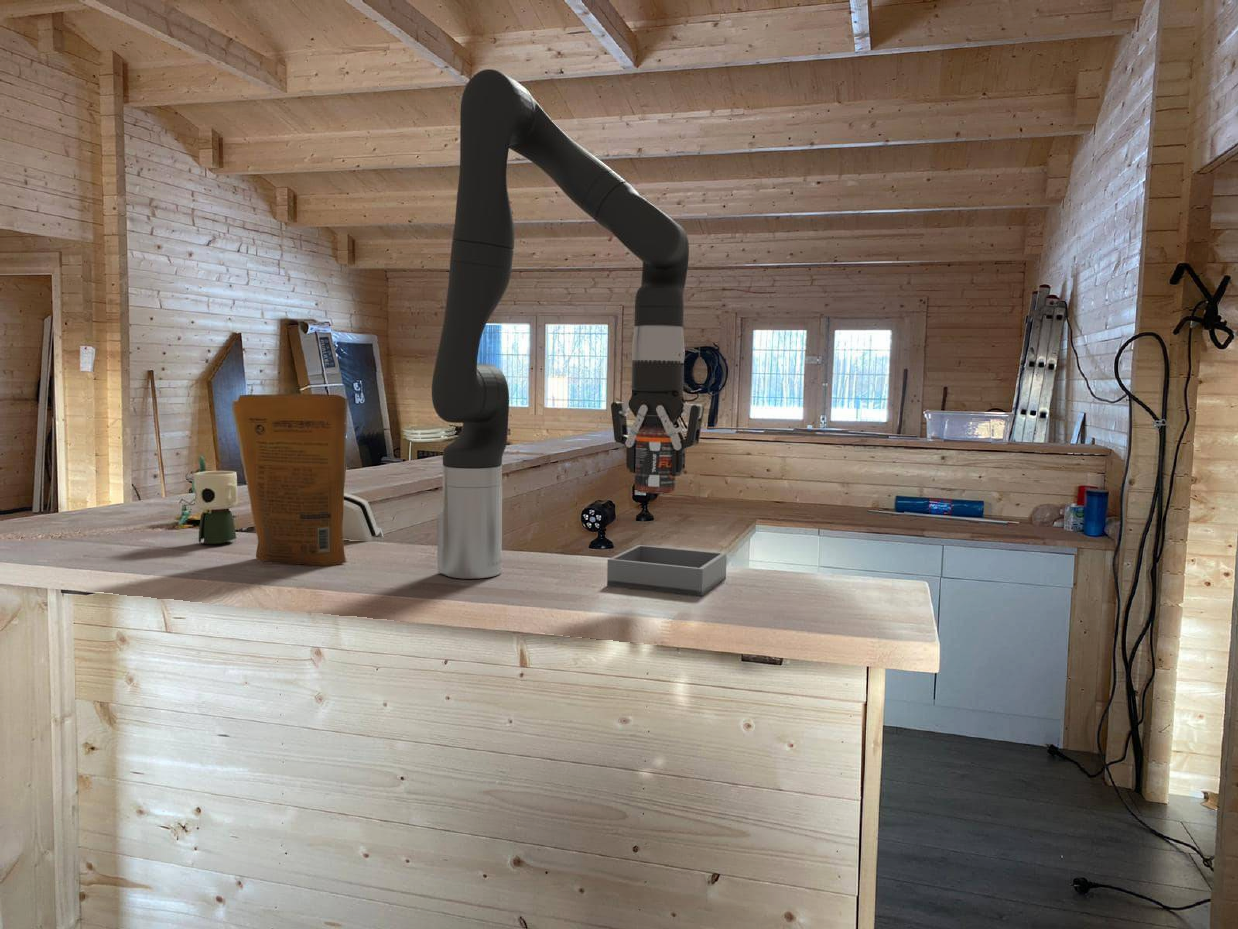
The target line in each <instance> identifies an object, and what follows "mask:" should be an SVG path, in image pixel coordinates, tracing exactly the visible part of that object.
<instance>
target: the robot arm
mask: <svg viewBox="0 0 1238 929" xmlns="http://www.w3.org/2000/svg"><path fill="white" fill-rule="evenodd" d="M459 112H460V113H459V115H460V116H459V120H460V121H459V124H460V125H459V126H460V128H459V129H460V130H459V132H460V134H459V138H460V139H459V140H460V141H459V145H460V148H459V150H460V151H459V176H458V177H459V178H458V184H457V185H458V186H457V192H456V194H457V195H456V205H455V206H456V207H455V216H454V217H455V218H454V226H453V233H452V239H451V250H450V257H449V258H450V260H449V273H448V274H449V275H448V286H447V294H446V301H445V309H444V317H443V324H442V330H441V335H440V339H439V340H440V341H439V345H438V348H437V349H438V350H437V354H436V359H435V364H434V369H433V376H432V380H431V401H432V406H433V409H434V411H435V413H436V414H437V416H438V417H439V419H441V420H442V421H444V422H446V423H451V424H462V429H461V431H460V434H459V435H458V437H457V438H456V439H455V440H454V441H452V442H451V443H449V444H448V445H446V446H445V447H444V448H443V450H442V512H439V513H438V514H437V519H436V520H437V523H436V524H437V574H442V575H444V576H447V577H450V578H456V579H470V580H471V579H472V580H473V579H485V578H490V577H491V578H492V577H495V576H498V575H500V574H501V573H502V563H503V559H502V558H503V557H502V556H503V554H502V547H503V542H502V540H503V536H502V535H503V534H502V531H503V522H502V521H503V519H502V518H503V511H502V510H503V466H502V465H503V456H504V455H503V454H504V453H505V450H506V448H507V443H508V435H509V434H508V433H509V431H508V430H509V417H510V416H509V414H510V413H509V412H510V392H509V385H508V381H507V378H506V376H505V373H504V372H503V371H502V370H501V369H500V368H499V367H497V366H496V365H493V364H490V363H482V362H481V363H479V362H478V360H479V352H480V343H481V340H482V336H483V332H484V329H485V327H486V325H487V323H488V322H489V319H490V318H491V316H492V315H493V313H494V311H496V310H495V309H496V308H497V306H498V305H499V303H500V302H501V300H502V298H503V296H504V294H505V292H506V290H507V288H508V285H509V283H510V279H511V276H512V268H513V261H514V260H513V259H514V258H513V257H514V249H515V225H514V218H513V212H512V208H511V207H512V206H511V201H510V197H509V196H510V195H509V191H508V184H507V183H508V182H507V169H508V168H507V166H508V158H509V150H512V151H513V152H515V153H516V154H518V155H521V156H522V157H523V158H525V159H527V160H529V161H530V162H532V163H533V164H534V165H535V166H537V167H538V168H539V169H541V170H542V171H543V172H544V173H545V174H546V175H547V176H549V178H551V180H553V182H554V183H555V184H556V185H557V186H558V188H560V189H561V191H563V193H564V194H565V195H566V196H567V197H568V198H569V199H570V200H571V201H572V202H573V203H574V204H575V205H576V206H578V208H579V209H581V211H584V213H586V214H587V215H588V216H590V218H591V219H593V220H594V221H595V222H597V223H598V224H599V225H600V226H602V227H603V228H604V229H606V230H608V231H609V232H611V233H612V234H613V235H614V237H616V239H617V240H618V241H620V243H621V244H622V245H623V246H625V247H626V248H627V250H628V251H630V252H631V253H632V254H633V255H634V256H635V257H637V258H638V259H639V260H640V261H641V262H642V271H641V285H640V287H639V288H638V289H637V290H636V294H635V301H634V328H633V336H632V346H631V347H632V348H631V356H632V357H631V388H630V389H631V396H630V398H629V401H624V402H623V401H613V402H611V405H610V409H611V410H610V411H611V420H612V429H613V439H614V441H615V442H616V443H620V444H622V445H623V446H625V448H626V455H625V456H626V465H625V466H626V468H627V470H629V473H630V474H635V457H636V434H637V433H638V431H639V430H640V429H641V428H642V426H643V425H644V423H643V422H644V419H645V416H646V415H658V416H659V418H660V419H661V421H662V424H663V426H664V428H665V431H666V433H667V435H668V436H670V440H671V442H672V444H673V447H674V450H673V451H672V476H675V477H679V476H681V475H682V473H683V472H684V471H685V469H686V450H687V449H688V448H690V447H691V448H692V447H694V446H697V445H698V444H699V442H700V439H701V438H700V436H701V429H702V426H703V419H704V411H705V406H704V405H703V404H693V403H691V404H690V403H687V402H686V401H685V398H684V377H685V376H684V374H685V372H684V371H685V358H686V351H685V337H684V303H685V302H684V291H685V285H686V281H687V280H686V279H687V275H688V267H689V258H690V246H689V244H690V243H689V238H688V235H687V233H686V231H685V229H684V228H683V227H682V226H681V225H680V224H679V223H678V222H676V221H675V220H674V219H672V217H670V216H669V215H667V214H666V213H665V212H664V211H661V209H660V208H658V207H657V206H655V205H654V204H652V203H651V202H650V201H648V199H646V198H644V197H643V196H642V195H640V194H639V192H638V190H636V189H635V188H634V187H633V186H632V185H631V184H630V183H629V182H627V180H625V179H624V178H623V177H621V176H620V175H619V174H618V173H617V172H615V171H614V170H613V169H611V168H610V167H609V166H608V165H607V164H605V163H604V162H603V161H601V160H600V159H599V158H598V157H596V156H594V155H593V154H592V153H590V152H589V151H588V150H587V149H586V148H584V147H582V146H581V145H579V144H578V143H577V142H576V141H574V140H573V139H572V138H571V137H569V136H568V134H566V133H565V132H564V131H563V130H562V129H561V128H560V127H559V126H558V125H557V124H556V123H555V122H554V121H553V120H552V119H551V117H550V116H549V114H547V112H545V110H544V109H543V108H542V107H541V105H540V104H539V103H538V102H537V101H536V99H534V97H533V96H532V94H531V93H530V91H529V90H528V89H526V87H525V86H523V85H522V84H520V83H519V82H518V81H517V80H515V79H513V78H511V77H510V76H509V75H507V74H505V73H503V72H502V71H500V70H497V69H491V68H488V69H487V68H486V69H483V70H481V71H478V72H477V73H475V74H474V75H473V76H472V77H471V78H470V79H469V81H468V82H467V84H466V85H465V87H464V90H463V93H462V96H461V101H460V111H459ZM630 411H631V413H632V414H633V416H634V417H635V419H634V421H633V423H632V424H631V427H630V430H628V424H627V416H628V415H629V412H630ZM683 412H685V416H686V418H687V420H688V424H687V428H686V429H687V430H686V436H684V433H683V428H682V426H681V423H680V421H679V418H680V417H681V415H682V414H683ZM628 431H629V432H628Z"/></svg>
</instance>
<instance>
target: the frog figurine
mask: <svg viewBox="0 0 1238 929" xmlns="http://www.w3.org/2000/svg"><path fill="white" fill-rule="evenodd" d="M198 462H199V468H198V469H197V470H196V471H195V472H194V474H195V473H198V472H205V471H207V470H206V464H205V458H204V457H203V456H199V457H198ZM216 471H220V470H217V469H216ZM192 479H193V480H191V490H192V493H194V494H195V488H194V478H192ZM194 501H195V498H194V499H192V500H191V501H190V502H188V501H187V500H185V499H183V498H181V499H180V501H179V502H178V503H179V504H181V503H182V502H184V504H183V505H182V507H181V514H179V515H177V516H174V517H173V519H174V520H175V521H178V523H177V524H178V525H175V529H176V530H184V529H189V528H192V527H194V526H193V525H194V524H187V522H186V521H193V520H200V519H201V515H202V512H196V514H197V515H193V514H191V513H192V510H188V508H187V506H195V502H194ZM186 503H187V504H186ZM188 519H190V520H188ZM183 524H184V525H183Z"/></svg>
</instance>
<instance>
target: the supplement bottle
mask: <svg viewBox="0 0 1238 929" xmlns="http://www.w3.org/2000/svg"><path fill="white" fill-rule="evenodd" d="M643 423H644V425H643V426H642V428H641V429H640V430H639V431H638V433H637V434H636V457H635V473H634V489H635V491H636V492H638V493H642V494H661V495H662V494H663V495H665V494H670V493H671V494H672V493H673V492H674V491H675V489H676V488H675V486H676V476H672V451H673V450H674V447H673V444H672V442H671V440H670V436H668V435H667V433H666V431H665V428H664V426H663V424H662V421H661V419H660V418H659V416H658V415H646V416H645V419H644V422H643Z"/></svg>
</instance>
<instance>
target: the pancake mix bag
mask: <svg viewBox="0 0 1238 929" xmlns="http://www.w3.org/2000/svg"><path fill="white" fill-rule="evenodd" d="M348 403H349V399H348V398H346V397H344V396H342V395H339V394H326V393H325V394H324V393H289V394H288V393H286V394H240V395H239V396H238V398H237V400H232V404H231V405H232V406H231V407H232V408H231V410H232V411H231V412H232V419H233V422H234V424H235V430H236V435H237V440H238V449H239V454H240V461H241V463H242V466H243V473H244V478H245V482H246V483H245V484H246V487H247V493H248V498H249V503H250V504H249V505H250V510H251V514H252V515H251V516H252V519H253V520H252V521H253V526H254V529H255V533H256V537H257V538H256V539H257V544H256V545H257V546H256V550H255V551H256V553H255V558H256V559H257V560H258V561H259V562H260V563H261V562H262V563H266V564H291V565H305V566H306V565H309V566H310V565H311V566H318V567H319V566H321V567H322V566H323V567H324V566H335V565H340V564H345V563H347V558H346V555H345V548H344V546H345V545H344V539H343V532H342V522H343V514H344V509H343V505H344V493H345V484H346V471H347V469H346V468H347V466H346V465H347V464H346V462H347V432H348Z"/></svg>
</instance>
